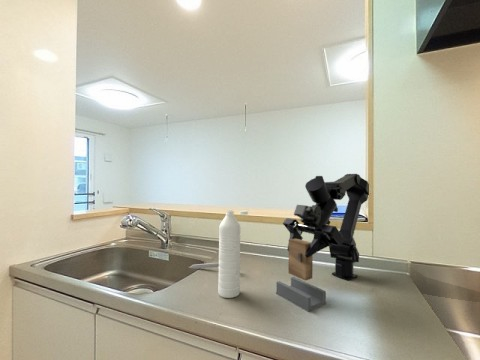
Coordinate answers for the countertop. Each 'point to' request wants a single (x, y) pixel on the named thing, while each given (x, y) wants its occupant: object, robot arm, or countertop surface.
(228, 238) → the water bottle
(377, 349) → the countertop surface
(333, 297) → the countertop surface
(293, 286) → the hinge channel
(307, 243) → the door slab
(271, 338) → the countertop surface
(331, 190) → the robot arm
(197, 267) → the caliper
